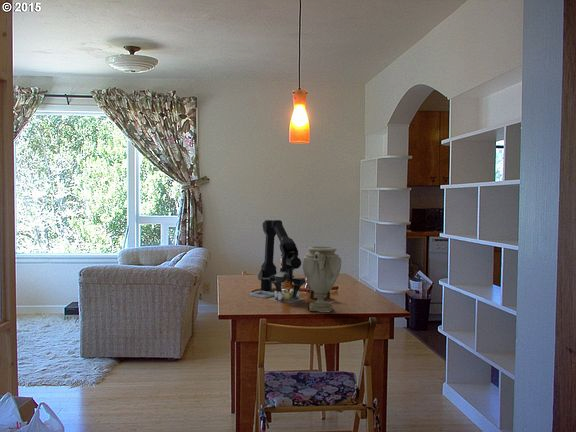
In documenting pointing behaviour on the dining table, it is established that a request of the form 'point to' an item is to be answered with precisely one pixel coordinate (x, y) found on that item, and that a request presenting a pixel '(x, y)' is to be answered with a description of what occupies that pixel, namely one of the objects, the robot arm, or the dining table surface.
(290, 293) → the brass nut
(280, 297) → the spacer posts
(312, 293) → the ammunition clip
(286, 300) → the spacer board
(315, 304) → the urn
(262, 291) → the tray
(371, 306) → the dining table surface
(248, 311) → the dining table surface
